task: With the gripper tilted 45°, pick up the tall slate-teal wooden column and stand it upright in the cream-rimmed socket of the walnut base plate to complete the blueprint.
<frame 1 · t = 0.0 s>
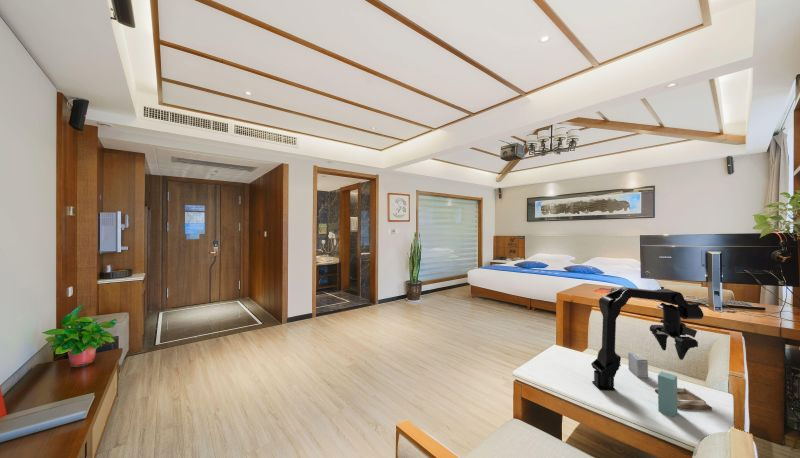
hand: (672, 354, 129), 15 cm above the table, tool pointing down, fingers open, 9 cm apart
medicine box: (638, 374, 142), on the table
column block: (667, 411, 114), on the table
base plate: (681, 400, 121), on the table
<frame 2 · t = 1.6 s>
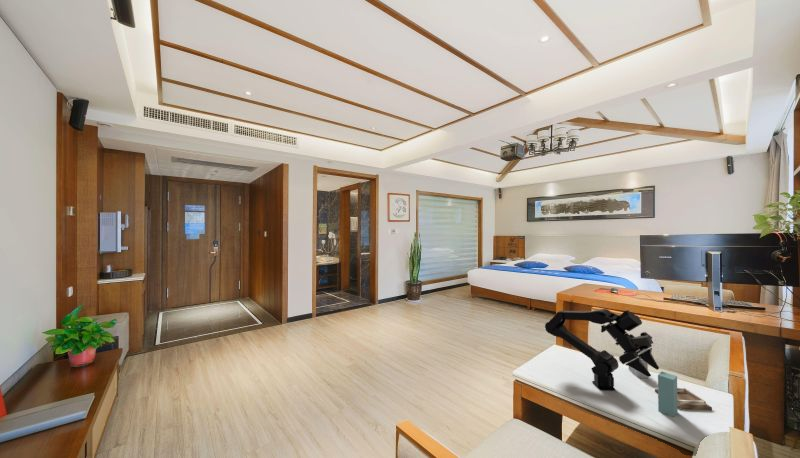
hand: (654, 372, 117), 13 cm above the table, tool tilted 45°, fingers open, 9 cm apart
nothing on the table moved.
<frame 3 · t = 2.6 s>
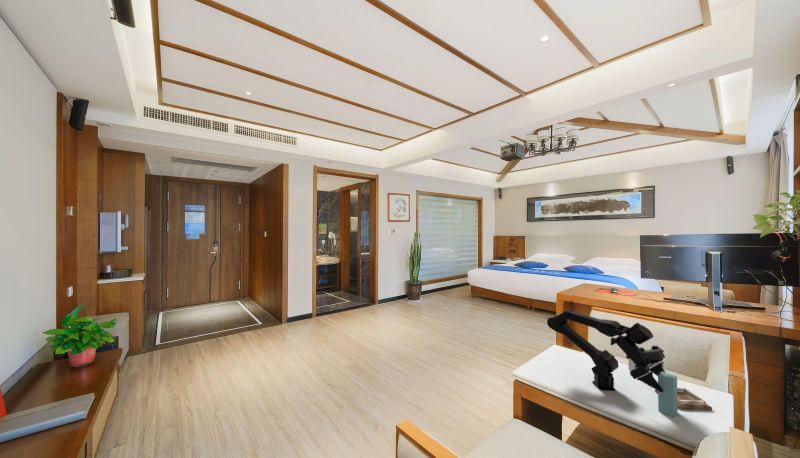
hand: (666, 387, 114), 9 cm above the table, tool tilted 45°, fingers open, 9 cm apart
nothing on the table moved.
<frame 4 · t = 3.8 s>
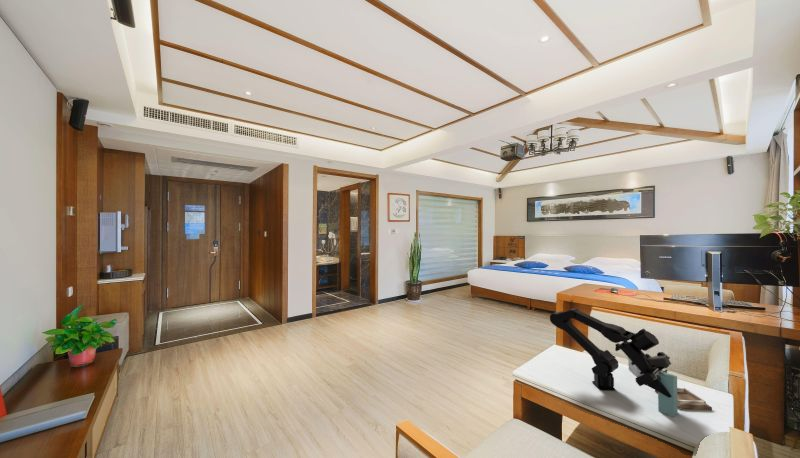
hand: (672, 394, 112), 7 cm above the table, tool tilted 45°, fingers closed on column block, 4 cm apart
column block: (667, 411, 114), on the table, touching gripper
everything else where it was.
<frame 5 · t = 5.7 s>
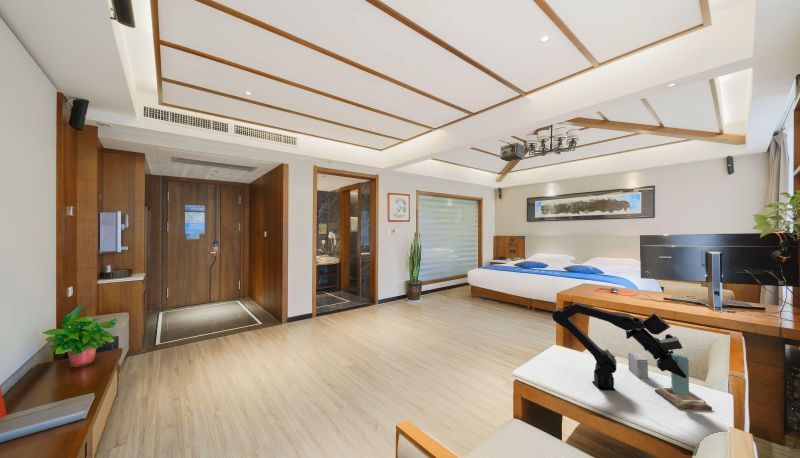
hand: (684, 374, 116), 13 cm above the table, tool tilted 45°, fingers closed on column block, 4 cm apart
column block: (680, 391, 117), point 5 cm above the table, touching gripper
everything else where it was.
when the fingers open (9 cm above the table, at t = 7.4 s): column block stays where it is, resting on base plate.
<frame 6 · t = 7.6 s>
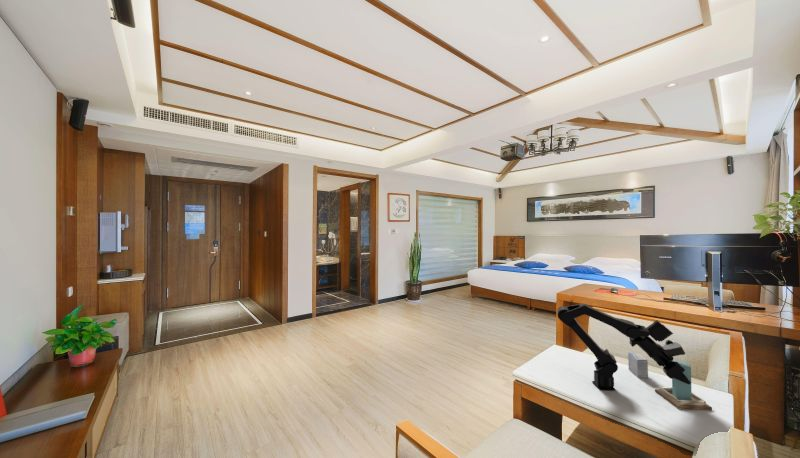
hand: (686, 379, 120), 9 cm above the table, tool tilted 45°, fingers open, 7 cm apart
column block: (681, 397, 121), point 1 cm above the table, touching base plate
everything else where it was.
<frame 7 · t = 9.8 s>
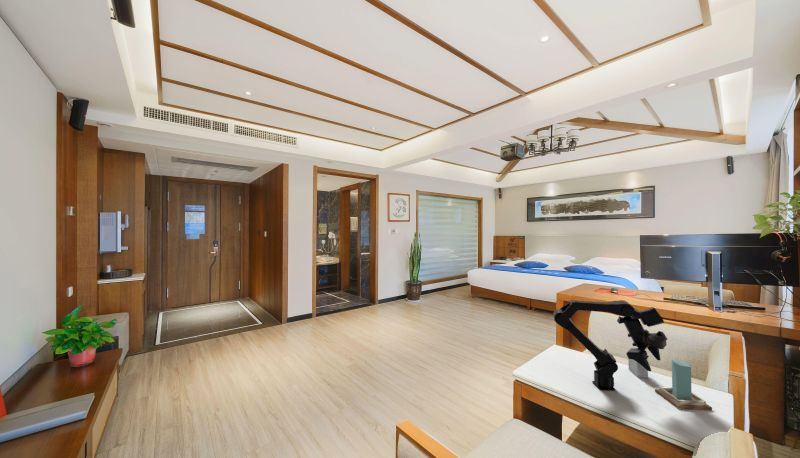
hand: (654, 365, 124), 12 cm above the table, tool tilted 25°, fingers open, 9 cm apart
nothing on the table moved.
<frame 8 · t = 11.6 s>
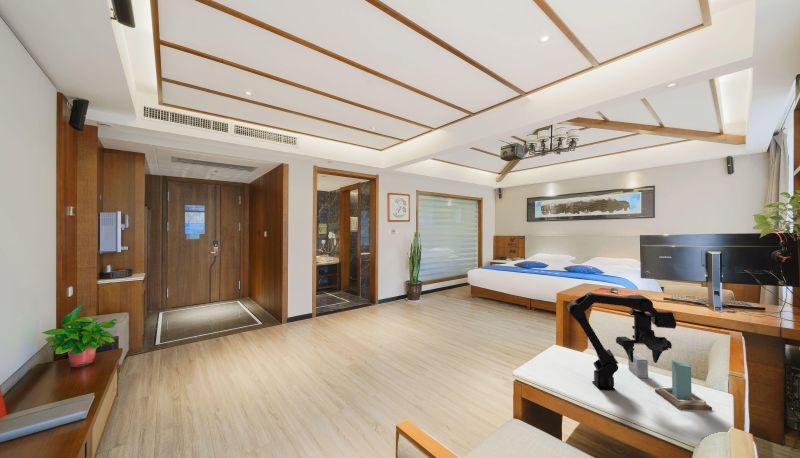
hand: (643, 362, 126), 13 cm above the table, tool pointing down, fingers open, 9 cm apart
nothing on the table moved.
at the end: column block 0.0 cm off-centre on the base plate, point 1.0 cm above the base plate's base; column block tilted 0°; the gripper is holding nothing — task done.
